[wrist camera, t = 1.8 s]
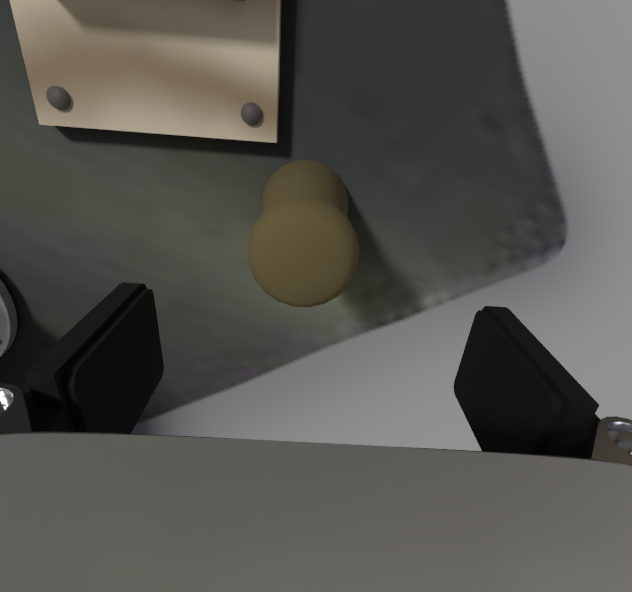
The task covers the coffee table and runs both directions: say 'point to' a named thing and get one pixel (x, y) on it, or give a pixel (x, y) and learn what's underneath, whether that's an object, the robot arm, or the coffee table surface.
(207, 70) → the pocket board
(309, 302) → the olive tall rounded piece
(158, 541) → the robot arm
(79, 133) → the coffee table surface
